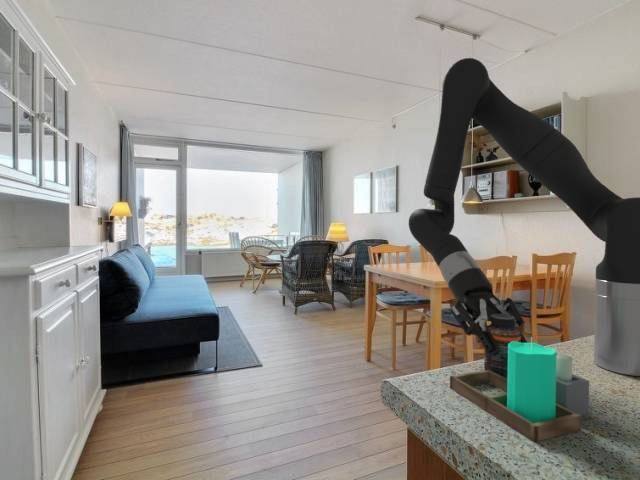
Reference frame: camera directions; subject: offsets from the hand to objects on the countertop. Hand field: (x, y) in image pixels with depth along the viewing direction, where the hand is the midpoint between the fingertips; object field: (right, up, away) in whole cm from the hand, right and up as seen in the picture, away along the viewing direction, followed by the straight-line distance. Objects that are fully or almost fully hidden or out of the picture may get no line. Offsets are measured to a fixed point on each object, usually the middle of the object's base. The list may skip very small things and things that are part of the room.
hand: (510, 351), depth 63 cm
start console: (+2, -6, -10) cm, 12 cm away
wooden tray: (-5, -6, -9) cm, 12 cm away
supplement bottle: (-1, -5, +2) cm, 6 cm away
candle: (-4, -6, -13) cm, 15 cm away
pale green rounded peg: (+2, -4, -10) cm, 11 cm away
